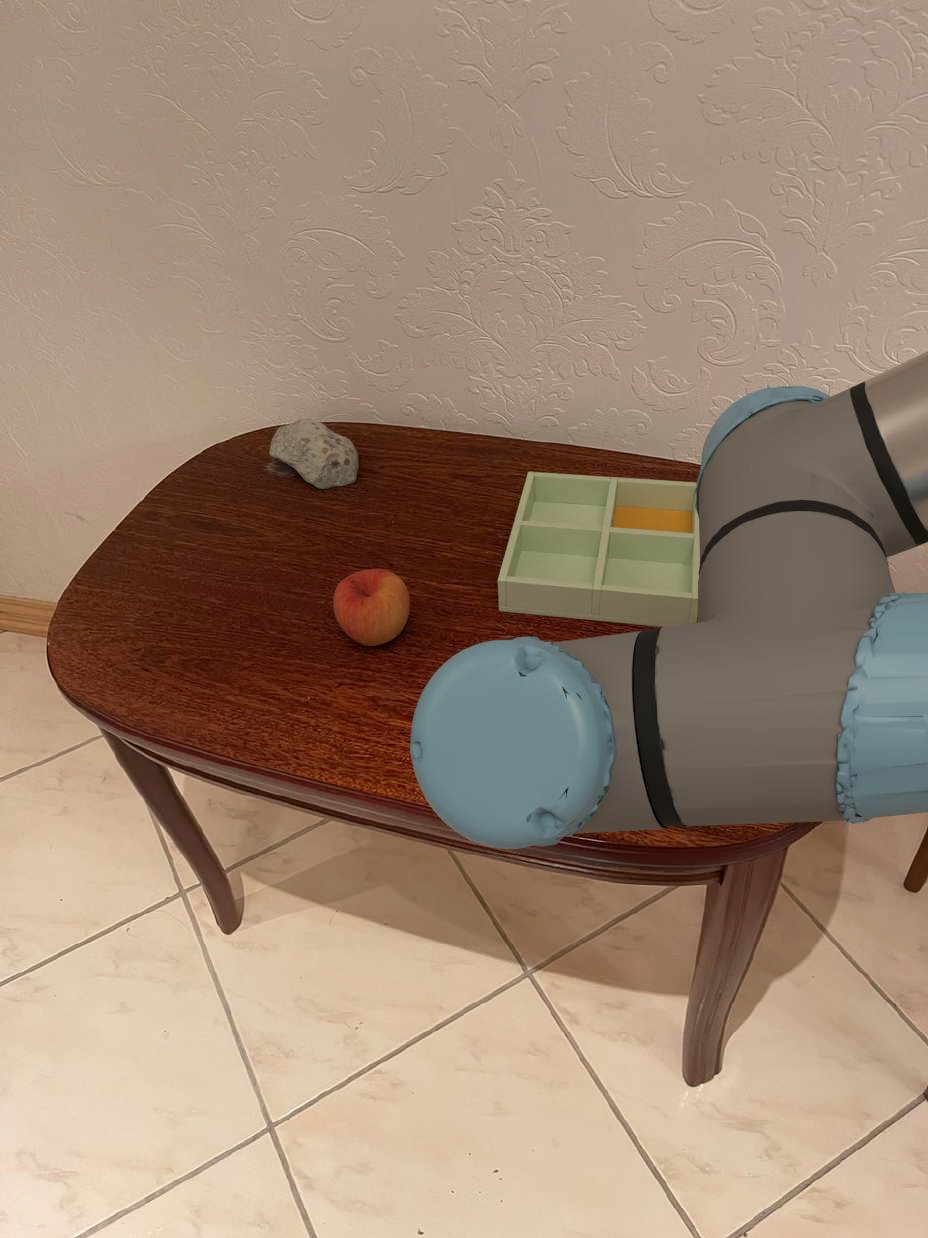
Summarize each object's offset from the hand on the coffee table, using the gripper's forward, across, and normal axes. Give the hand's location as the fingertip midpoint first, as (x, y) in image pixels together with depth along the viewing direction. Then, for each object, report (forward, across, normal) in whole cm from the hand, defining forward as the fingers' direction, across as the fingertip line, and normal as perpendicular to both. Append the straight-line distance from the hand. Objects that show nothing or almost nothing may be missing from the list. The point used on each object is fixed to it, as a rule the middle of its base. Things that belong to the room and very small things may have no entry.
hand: (671, 722), depth 64 cm
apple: (+13, -32, -3) cm, 34 cm away
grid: (+27, -16, +12) cm, 34 cm away
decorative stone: (+29, -56, +14) cm, 64 cm away
